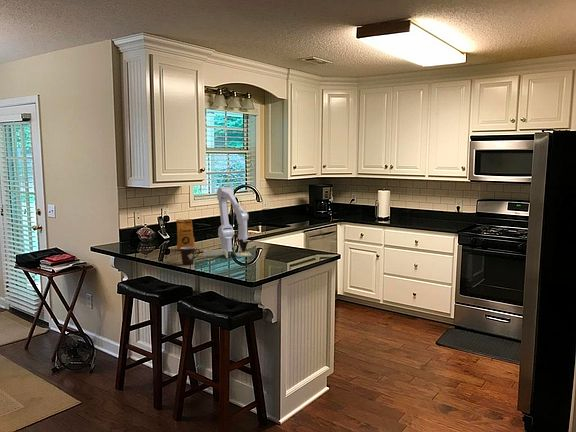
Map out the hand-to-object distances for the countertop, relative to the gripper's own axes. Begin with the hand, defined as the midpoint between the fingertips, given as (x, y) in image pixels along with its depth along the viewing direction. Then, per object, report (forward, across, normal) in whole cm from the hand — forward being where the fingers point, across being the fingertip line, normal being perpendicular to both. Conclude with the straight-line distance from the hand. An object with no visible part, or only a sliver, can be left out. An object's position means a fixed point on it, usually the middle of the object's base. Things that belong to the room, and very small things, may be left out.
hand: (243, 251), depth 310 cm
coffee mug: (+3, +18, -35) cm, 39 cm away
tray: (+3, 0, 0) cm, 3 cm away
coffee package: (+3, -32, -36) cm, 48 cm away
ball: (+2, 0, 0) cm, 2 cm away
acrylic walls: (+3, +1, -18) cm, 19 cm away
